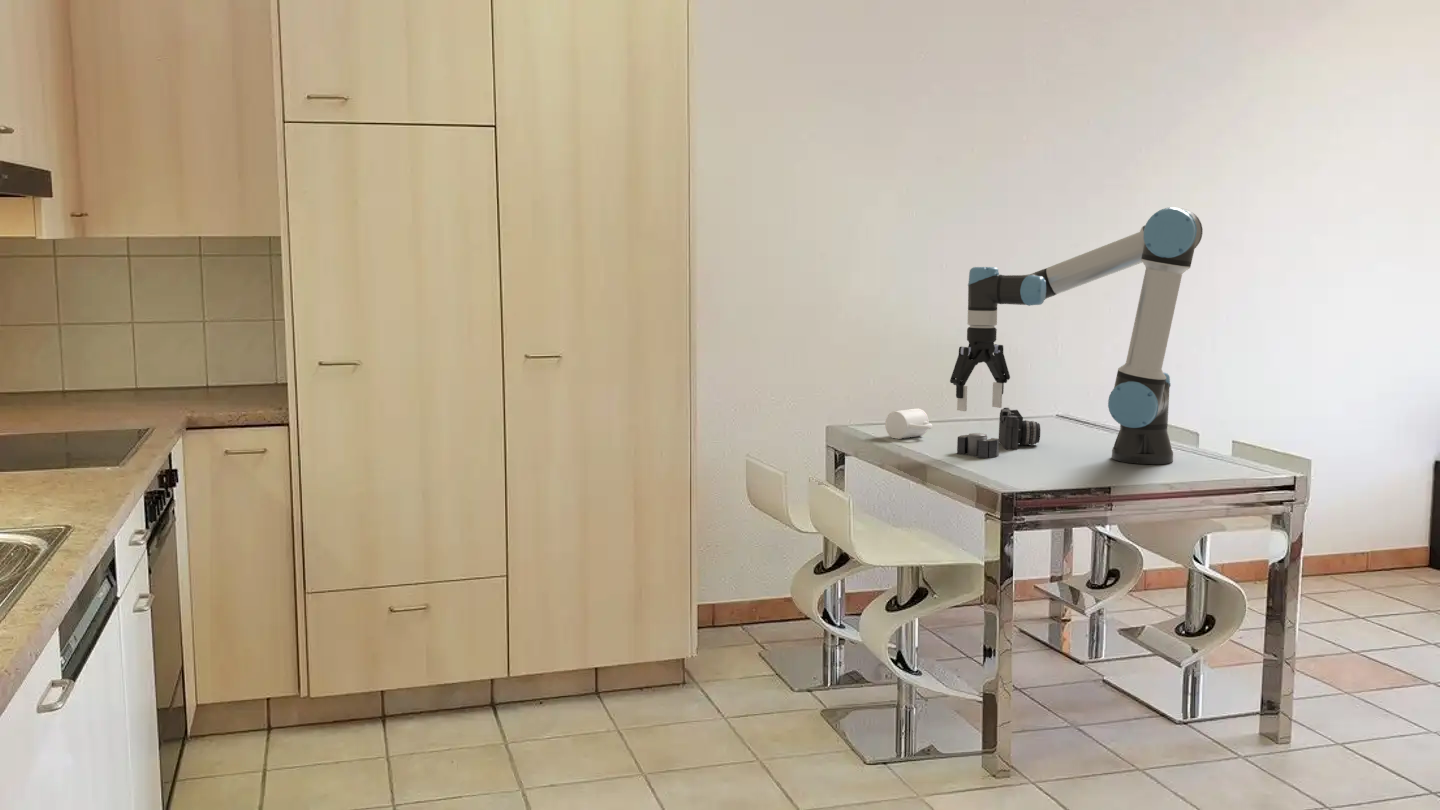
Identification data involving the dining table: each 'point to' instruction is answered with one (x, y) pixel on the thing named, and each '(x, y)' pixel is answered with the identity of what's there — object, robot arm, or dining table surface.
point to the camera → (1016, 430)
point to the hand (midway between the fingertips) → (979, 409)
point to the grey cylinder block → (974, 442)
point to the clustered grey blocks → (979, 447)
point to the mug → (907, 423)
